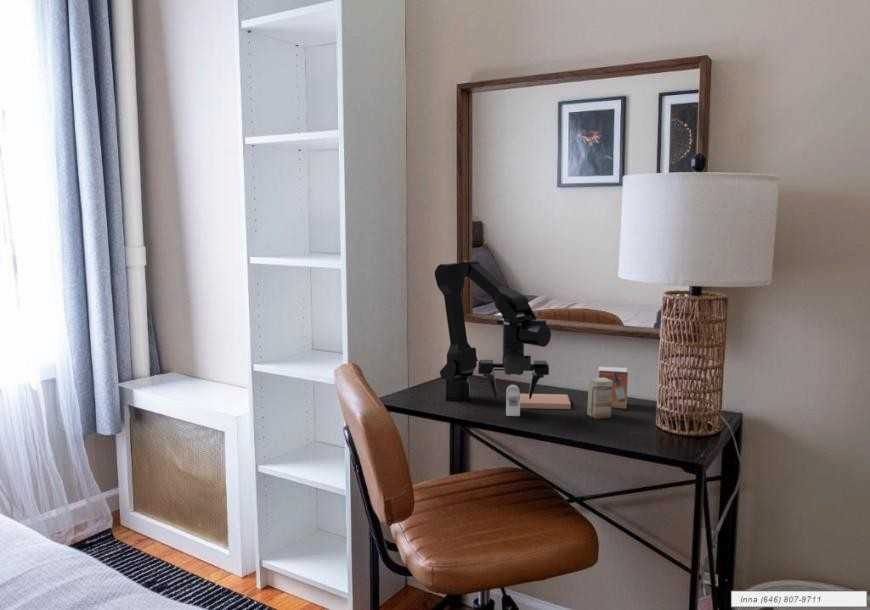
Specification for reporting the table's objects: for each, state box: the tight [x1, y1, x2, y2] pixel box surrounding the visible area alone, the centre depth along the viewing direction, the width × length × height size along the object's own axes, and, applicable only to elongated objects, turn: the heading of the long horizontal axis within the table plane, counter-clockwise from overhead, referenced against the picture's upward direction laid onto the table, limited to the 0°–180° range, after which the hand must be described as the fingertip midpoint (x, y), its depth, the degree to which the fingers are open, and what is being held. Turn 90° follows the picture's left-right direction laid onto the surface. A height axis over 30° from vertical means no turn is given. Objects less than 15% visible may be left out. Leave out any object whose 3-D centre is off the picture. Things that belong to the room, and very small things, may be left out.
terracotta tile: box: [520, 393, 572, 410], centre depth 204 cm, size 16×10×2 cm, turn 85°
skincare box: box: [586, 377, 613, 420], centre depth 192 cm, size 5×4×10 cm
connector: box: [505, 384, 521, 417], centre depth 194 cm, size 4×6×7 cm, turn 175°
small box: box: [597, 366, 629, 409], centre depth 202 cm, size 8×6×10 cm
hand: (512, 398), depth 195 cm, fingers open, 9 cm apart
